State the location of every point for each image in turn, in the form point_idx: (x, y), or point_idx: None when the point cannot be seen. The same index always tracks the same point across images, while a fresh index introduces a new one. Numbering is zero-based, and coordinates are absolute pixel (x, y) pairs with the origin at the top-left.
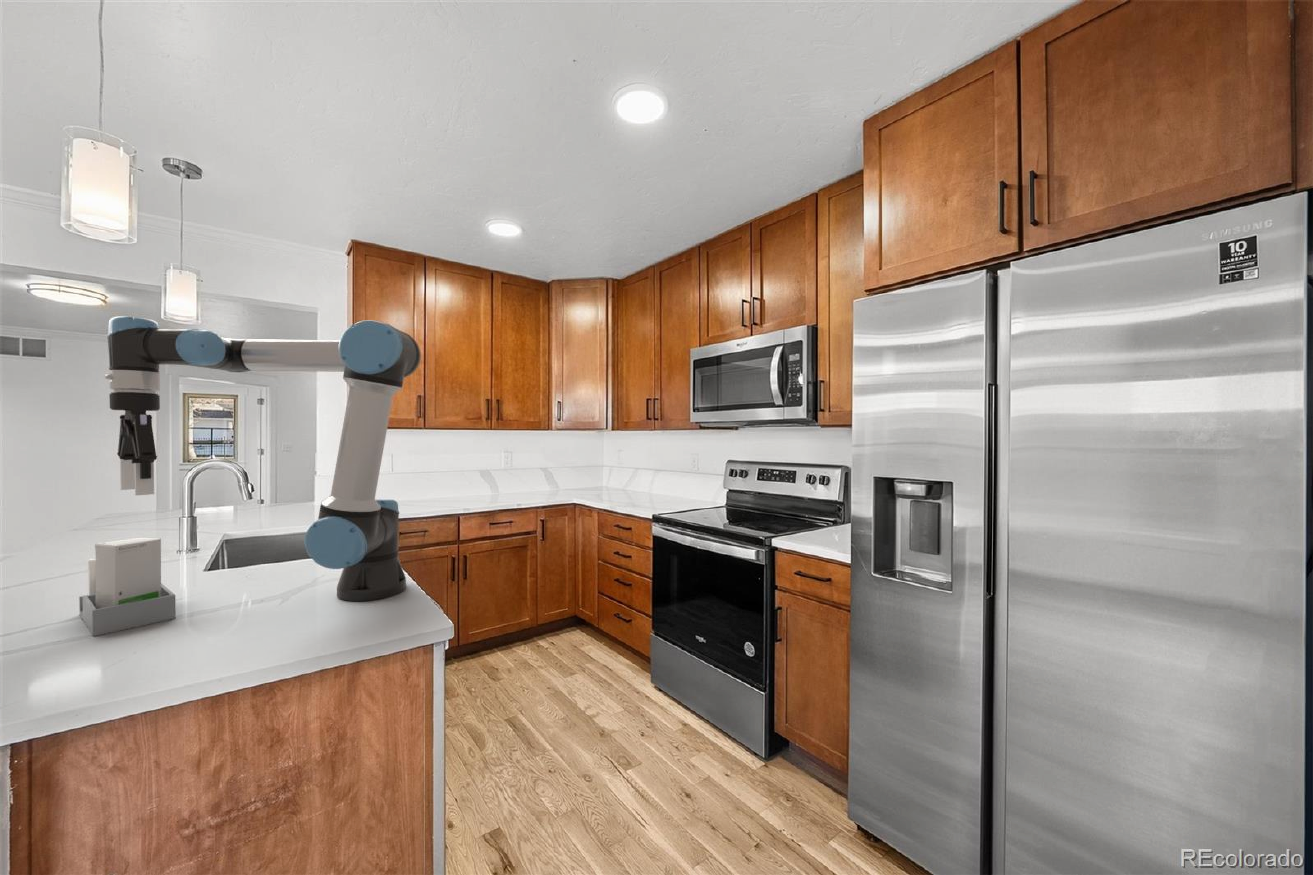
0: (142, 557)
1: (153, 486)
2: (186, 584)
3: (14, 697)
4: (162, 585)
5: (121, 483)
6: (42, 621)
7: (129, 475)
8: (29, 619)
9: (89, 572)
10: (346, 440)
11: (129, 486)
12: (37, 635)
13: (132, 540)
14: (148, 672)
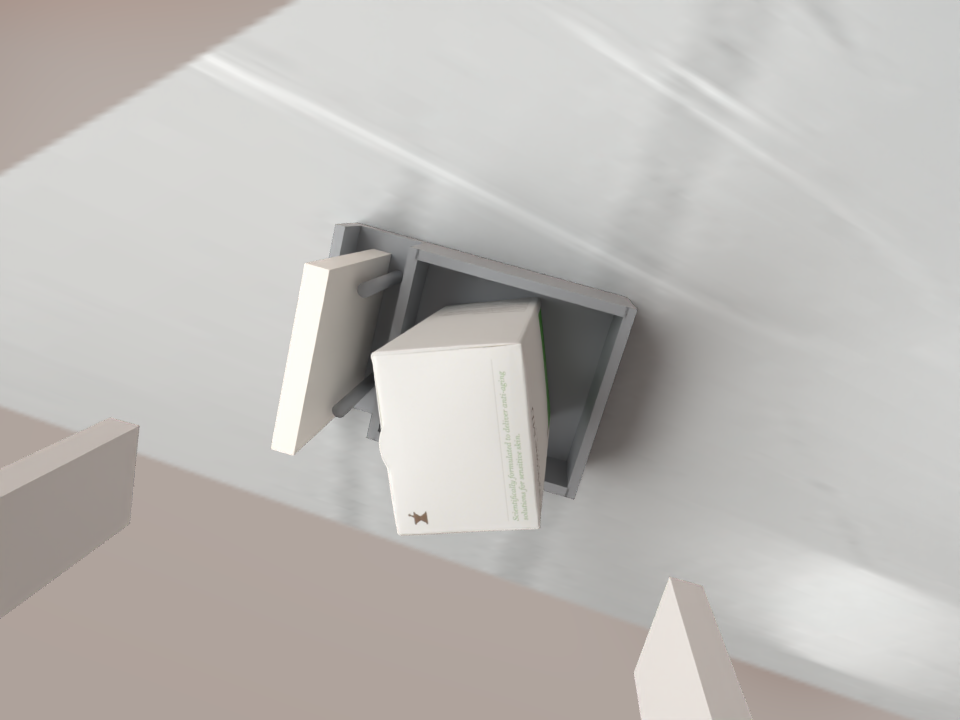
0: (537, 404)
1: (719, 637)
2: (232, 65)
3: (841, 690)
4: (456, 263)
5: (87, 553)
6: (301, 455)
7: (28, 543)
8: (250, 460)
9: (312, 436)
10: None
11: (116, 491)
12: None
13: (461, 435)
14: None
